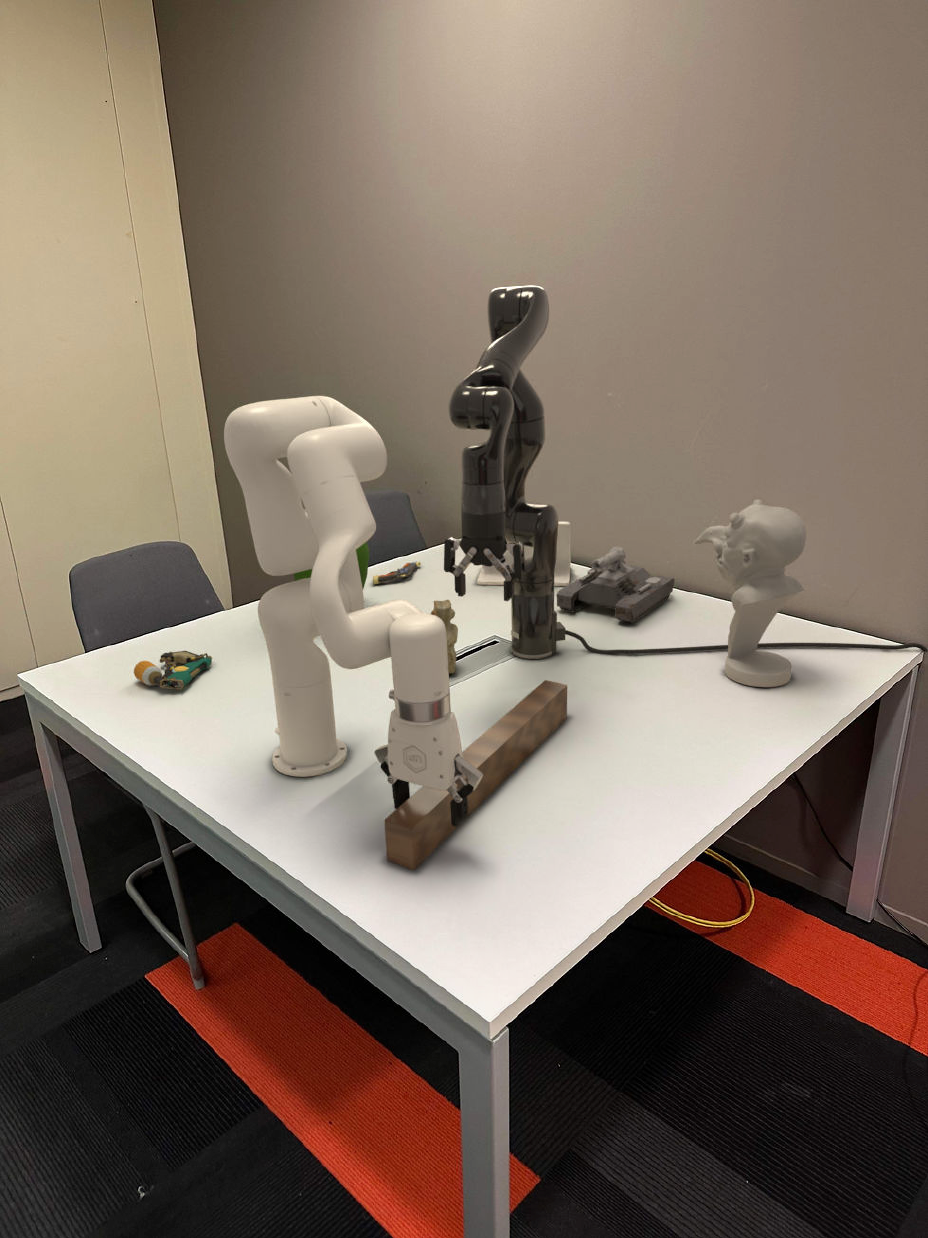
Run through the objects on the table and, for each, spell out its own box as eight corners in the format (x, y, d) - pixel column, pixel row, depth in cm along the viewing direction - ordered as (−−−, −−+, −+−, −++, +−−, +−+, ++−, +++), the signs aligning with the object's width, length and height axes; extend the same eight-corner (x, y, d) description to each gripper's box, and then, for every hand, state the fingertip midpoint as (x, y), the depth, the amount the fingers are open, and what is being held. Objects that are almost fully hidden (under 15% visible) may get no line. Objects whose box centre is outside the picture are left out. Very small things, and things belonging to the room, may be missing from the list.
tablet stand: (569, 585, 229) (570, 524, 223) (476, 584, 232) (475, 523, 226) (570, 566, 246) (571, 508, 240) (484, 564, 249) (483, 507, 243)
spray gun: (177, 659, 191) (231, 671, 185) (120, 684, 176) (176, 698, 171) (176, 641, 190) (230, 653, 184) (118, 665, 175) (174, 678, 169)
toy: (603, 584, 229) (605, 530, 224) (673, 597, 218) (677, 540, 213) (555, 612, 210) (556, 553, 205) (630, 627, 199) (633, 566, 194)
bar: (544, 712, 160) (545, 679, 158) (567, 717, 158) (567, 684, 156) (386, 860, 119) (383, 819, 117) (413, 870, 117) (411, 828, 115)
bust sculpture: (725, 639, 191) (739, 484, 178) (813, 678, 171) (835, 506, 158) (670, 654, 184) (680, 494, 171) (754, 696, 164) (772, 518, 151)
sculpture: (458, 662, 183) (456, 596, 178) (460, 676, 176) (457, 608, 171) (431, 663, 183) (428, 597, 177) (431, 677, 176) (428, 609, 171)
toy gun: (370, 576, 233) (405, 573, 231) (388, 561, 251) (421, 558, 249) (371, 586, 234) (406, 583, 232) (389, 570, 252) (422, 567, 250)
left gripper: (355, 703, 117) (365, 811, 123) (463, 727, 109) (469, 842, 114) (386, 683, 123) (395, 787, 129) (491, 704, 115) (496, 815, 120)
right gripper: (436, 509, 144) (439, 600, 150) (516, 514, 139) (517, 608, 145) (452, 500, 151) (454, 587, 156) (529, 504, 146) (529, 594, 151)
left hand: (430, 813), depth 122 cm, fingers open, 9 cm apart
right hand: (484, 597), depth 151 cm, fingers open, 8 cm apart
